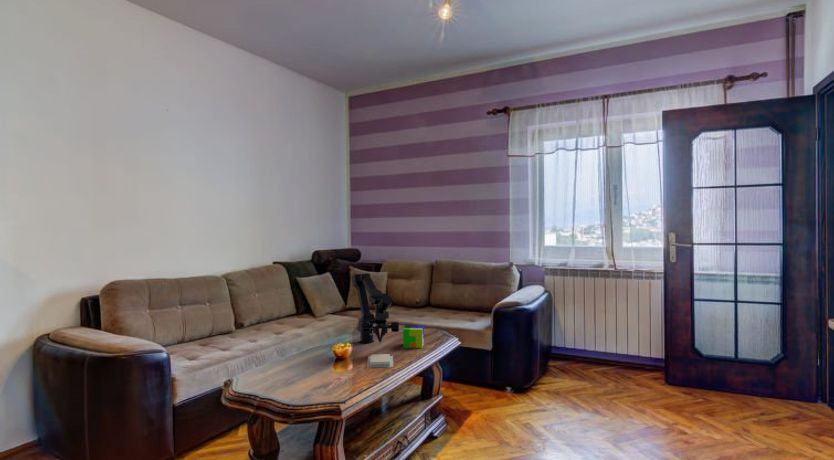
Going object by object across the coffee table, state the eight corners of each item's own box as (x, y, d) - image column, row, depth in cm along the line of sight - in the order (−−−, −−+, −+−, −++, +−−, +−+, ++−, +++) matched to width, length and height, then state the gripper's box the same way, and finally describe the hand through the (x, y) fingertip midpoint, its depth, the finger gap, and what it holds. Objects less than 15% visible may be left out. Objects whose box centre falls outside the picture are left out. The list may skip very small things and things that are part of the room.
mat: (368, 357, 224) (368, 356, 224) (392, 356, 225) (392, 355, 225) (366, 368, 207) (366, 367, 207) (393, 367, 208) (393, 366, 208)
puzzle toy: (423, 343, 249) (423, 325, 249) (422, 348, 239) (422, 329, 239) (405, 343, 250) (405, 325, 250) (403, 348, 240) (403, 329, 240)
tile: (371, 354, 220) (370, 362, 208) (389, 354, 220) (389, 361, 208) (371, 358, 220) (370, 366, 208) (389, 358, 220) (389, 366, 208)
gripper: (361, 306, 228) (360, 333, 217) (398, 305, 229) (399, 333, 218) (362, 318, 236) (361, 345, 225) (398, 317, 237) (398, 344, 226)
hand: (380, 341), depth 224 cm, fingers closed
